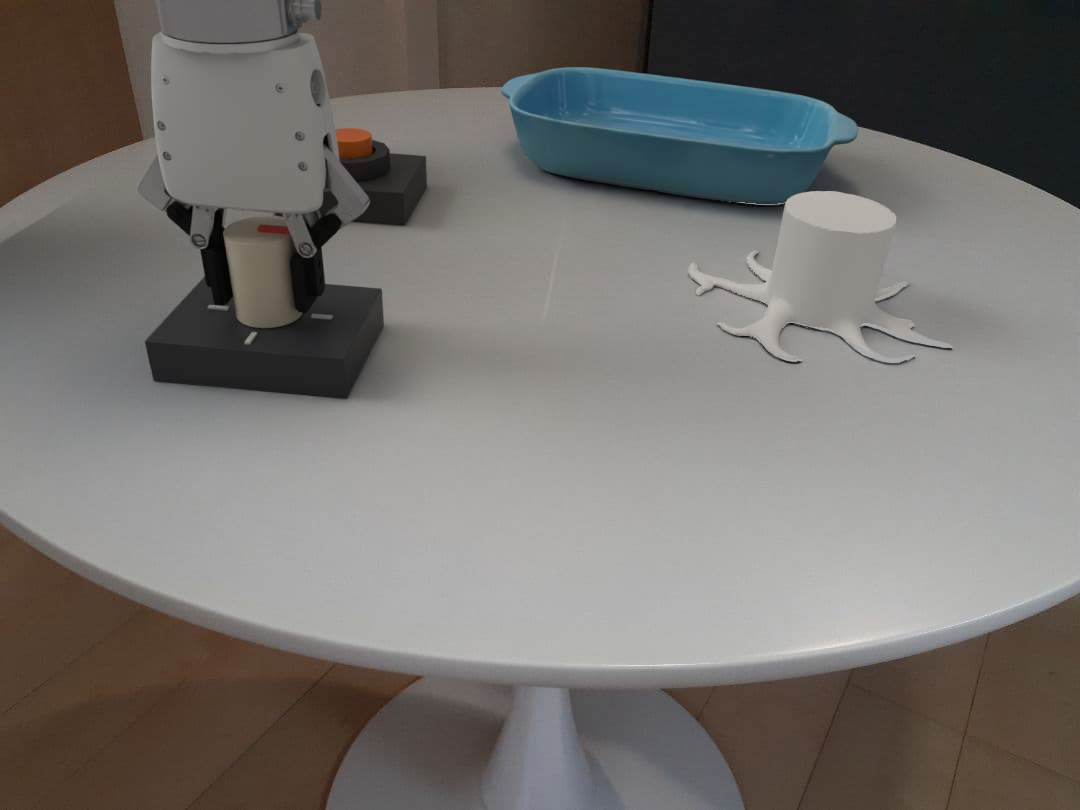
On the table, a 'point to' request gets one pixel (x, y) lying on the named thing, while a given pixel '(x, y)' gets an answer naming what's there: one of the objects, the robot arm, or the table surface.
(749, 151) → the casserole dish
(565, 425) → the table surface
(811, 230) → the tree stump
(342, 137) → the power button
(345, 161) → the button base
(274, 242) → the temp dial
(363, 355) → the dial panel
